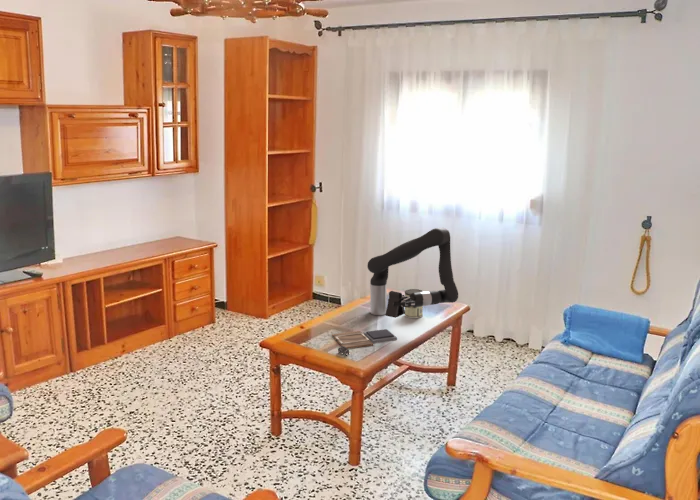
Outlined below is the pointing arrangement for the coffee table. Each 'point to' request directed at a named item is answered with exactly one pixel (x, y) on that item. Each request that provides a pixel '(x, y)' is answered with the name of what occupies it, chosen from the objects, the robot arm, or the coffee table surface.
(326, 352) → the coffee table surface
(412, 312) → the coffee can
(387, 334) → the ink pad
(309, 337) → the coffee table surface
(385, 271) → the robot arm
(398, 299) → the phone stand
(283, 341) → the coffee table surface
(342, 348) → the car cutout
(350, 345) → the marked board
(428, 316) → the coffee table surface
